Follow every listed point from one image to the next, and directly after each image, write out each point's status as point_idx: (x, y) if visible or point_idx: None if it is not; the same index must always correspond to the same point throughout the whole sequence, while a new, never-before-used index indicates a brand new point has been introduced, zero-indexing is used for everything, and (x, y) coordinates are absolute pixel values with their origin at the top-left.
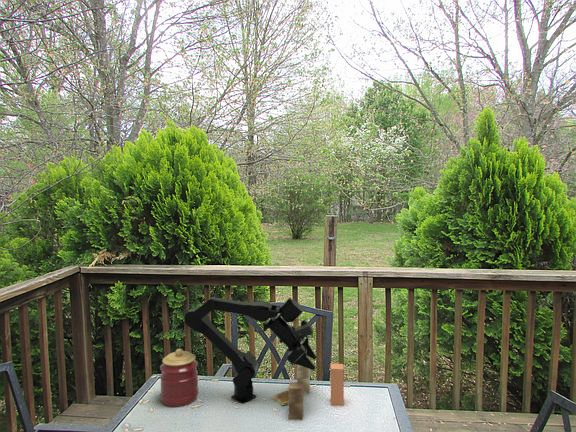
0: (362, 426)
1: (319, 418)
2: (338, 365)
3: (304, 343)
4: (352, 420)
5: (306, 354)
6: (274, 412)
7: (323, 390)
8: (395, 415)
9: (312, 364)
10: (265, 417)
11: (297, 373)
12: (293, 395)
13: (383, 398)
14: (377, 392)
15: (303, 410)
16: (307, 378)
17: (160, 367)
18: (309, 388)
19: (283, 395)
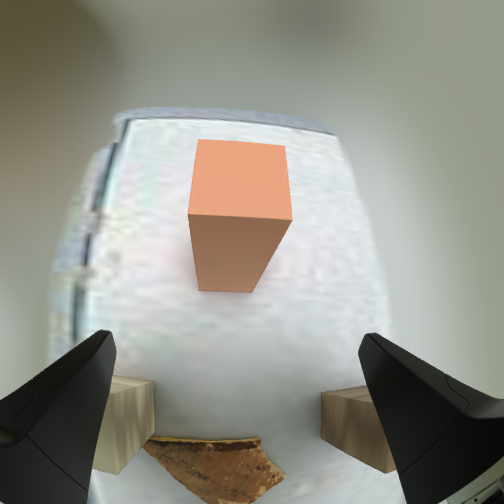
0: (359, 205)
1: (349, 330)
2: (223, 165)
3: (17, 494)
4: (338, 226)
5: (482, 415)
6: (327, 483)
7: (127, 317)
8: (286, 126)
9: (410, 353)
10: (357, 493)
11: (132, 455)
12: None
13: (194, 132)
14: (156, 140)
15: (326, 393)
16: (137, 396)
17: None
18: (135, 379)
19: (221, 484)
